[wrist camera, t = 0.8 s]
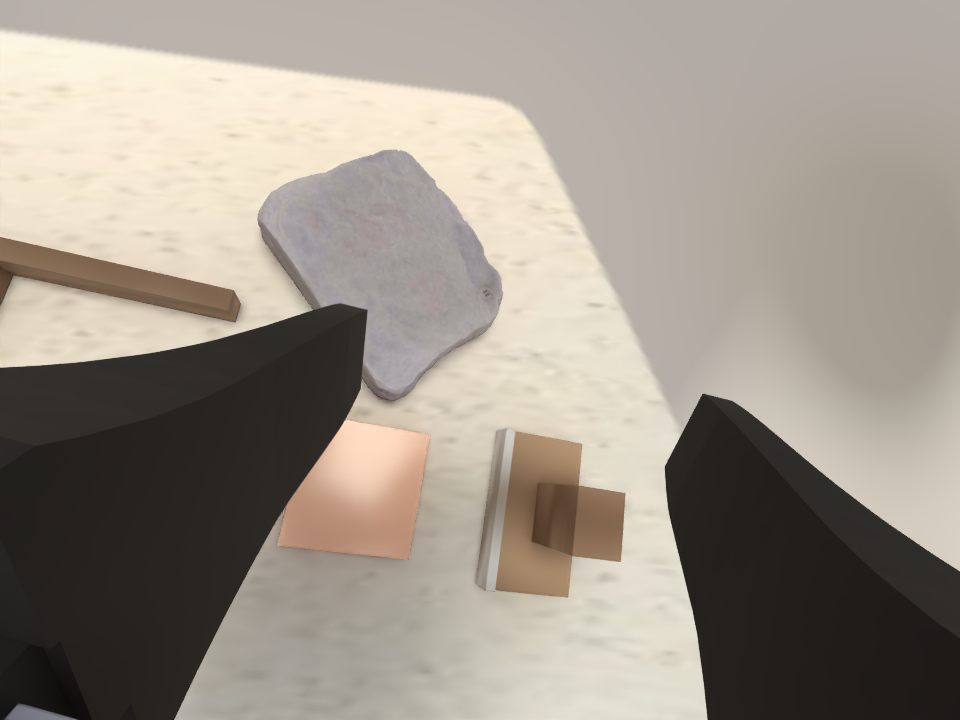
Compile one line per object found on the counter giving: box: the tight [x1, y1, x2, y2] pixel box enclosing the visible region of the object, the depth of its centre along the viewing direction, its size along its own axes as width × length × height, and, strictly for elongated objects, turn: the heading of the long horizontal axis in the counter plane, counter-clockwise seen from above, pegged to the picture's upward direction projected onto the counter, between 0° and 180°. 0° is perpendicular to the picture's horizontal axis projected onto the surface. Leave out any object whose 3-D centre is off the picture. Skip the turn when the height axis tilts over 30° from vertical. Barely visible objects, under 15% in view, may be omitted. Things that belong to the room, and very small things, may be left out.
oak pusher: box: [476, 429, 625, 597], centre depth 25 cm, size 8×5×6 cm, turn 172°
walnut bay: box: [0, 237, 241, 322], centre depth 21 cm, size 16×10×2 cm, turn 172°
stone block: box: [257, 150, 503, 401], centre depth 27 cm, size 12×5×10 cm
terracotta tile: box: [277, 420, 430, 560], centre depth 25 cm, size 6×6×2 cm
